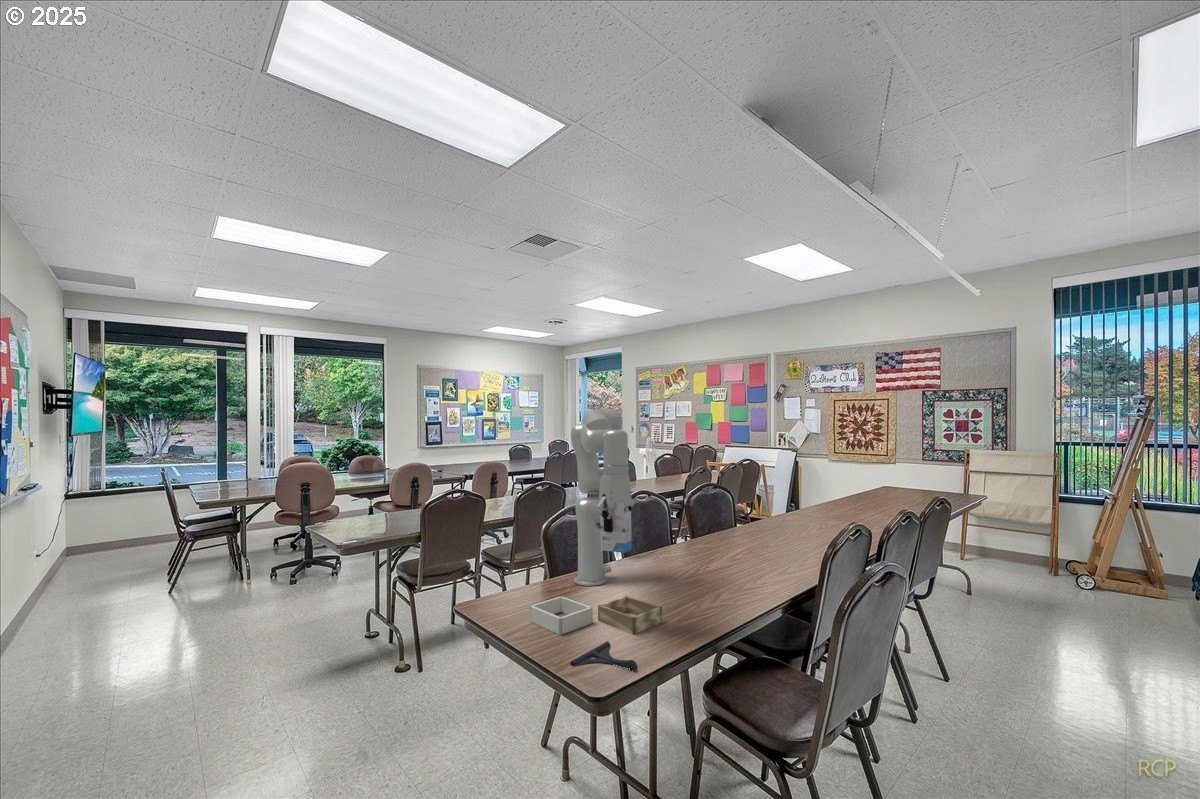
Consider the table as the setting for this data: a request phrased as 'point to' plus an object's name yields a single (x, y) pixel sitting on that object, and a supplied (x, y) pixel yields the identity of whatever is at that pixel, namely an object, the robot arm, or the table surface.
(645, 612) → the frame
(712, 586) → the table surface
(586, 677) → the table surface
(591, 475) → the robot arm
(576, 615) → the frame
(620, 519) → the ink box
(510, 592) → the table surface
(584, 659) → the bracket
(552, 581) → the table surface
